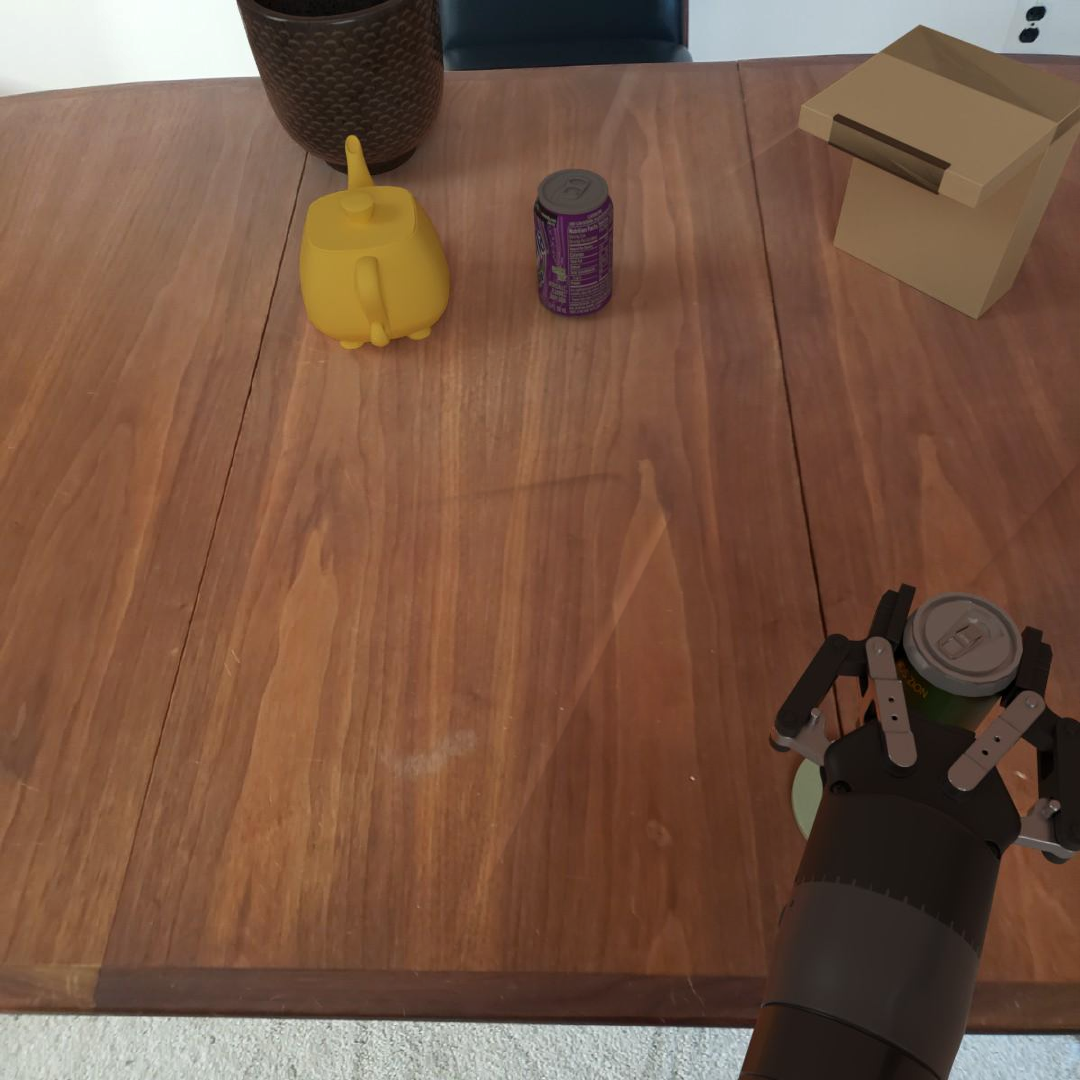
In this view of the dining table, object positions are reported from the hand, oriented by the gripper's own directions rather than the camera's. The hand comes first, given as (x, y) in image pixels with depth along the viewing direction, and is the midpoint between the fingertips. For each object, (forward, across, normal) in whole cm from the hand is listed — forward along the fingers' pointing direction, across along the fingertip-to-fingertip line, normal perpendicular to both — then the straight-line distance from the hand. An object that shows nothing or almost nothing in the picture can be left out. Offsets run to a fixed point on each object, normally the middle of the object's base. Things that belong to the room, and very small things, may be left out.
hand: (964, 615), depth 48 cm
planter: (+50, +70, +20) cm, 88 cm away
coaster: (-2, 0, +20) cm, 21 cm away
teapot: (+28, +55, +20) cm, 65 cm away
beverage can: (+36, +38, +20) cm, 56 cm away
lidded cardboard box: (+50, +10, +20) cm, 54 cm away
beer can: (-3, 0, +10) cm, 11 cm away
